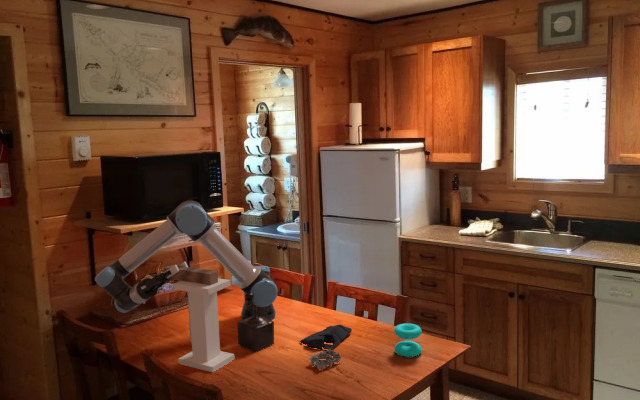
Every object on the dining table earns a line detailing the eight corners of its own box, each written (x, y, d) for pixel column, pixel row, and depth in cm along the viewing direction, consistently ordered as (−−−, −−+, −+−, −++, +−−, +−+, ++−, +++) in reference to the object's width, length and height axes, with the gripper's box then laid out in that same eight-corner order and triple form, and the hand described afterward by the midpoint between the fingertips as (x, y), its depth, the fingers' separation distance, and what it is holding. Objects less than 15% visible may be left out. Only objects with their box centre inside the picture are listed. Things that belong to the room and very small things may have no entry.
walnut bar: (164, 278, 201) (163, 267, 201) (172, 275, 205) (171, 264, 204) (210, 285, 191) (210, 274, 190) (218, 282, 194) (217, 271, 194)
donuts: (410, 320, 207) (427, 328, 198) (410, 345, 208) (427, 354, 200) (388, 325, 202) (404, 334, 194) (389, 351, 204) (405, 361, 195)
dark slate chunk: (358, 335, 221) (358, 323, 221) (327, 354, 204) (327, 342, 203) (327, 327, 230) (327, 317, 229) (295, 345, 212) (295, 334, 212)
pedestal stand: (178, 363, 198) (173, 283, 194) (201, 351, 208) (196, 275, 204) (213, 372, 190) (208, 289, 186) (234, 359, 201) (230, 280, 196)
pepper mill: (276, 343, 214) (276, 299, 211) (254, 352, 206) (254, 307, 203) (250, 332, 224) (250, 290, 221) (228, 340, 216) (228, 297, 213)
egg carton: (320, 372, 188) (319, 361, 188) (307, 365, 194) (306, 354, 194) (343, 363, 195) (343, 352, 194) (330, 357, 201) (330, 346, 200)
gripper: (164, 293, 217) (202, 269, 206) (131, 306, 203) (169, 281, 191) (156, 276, 218) (193, 252, 207) (122, 287, 204) (160, 262, 192)
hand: (181, 266), depth 199 cm, fingers closed on walnut bar, 4 cm apart
